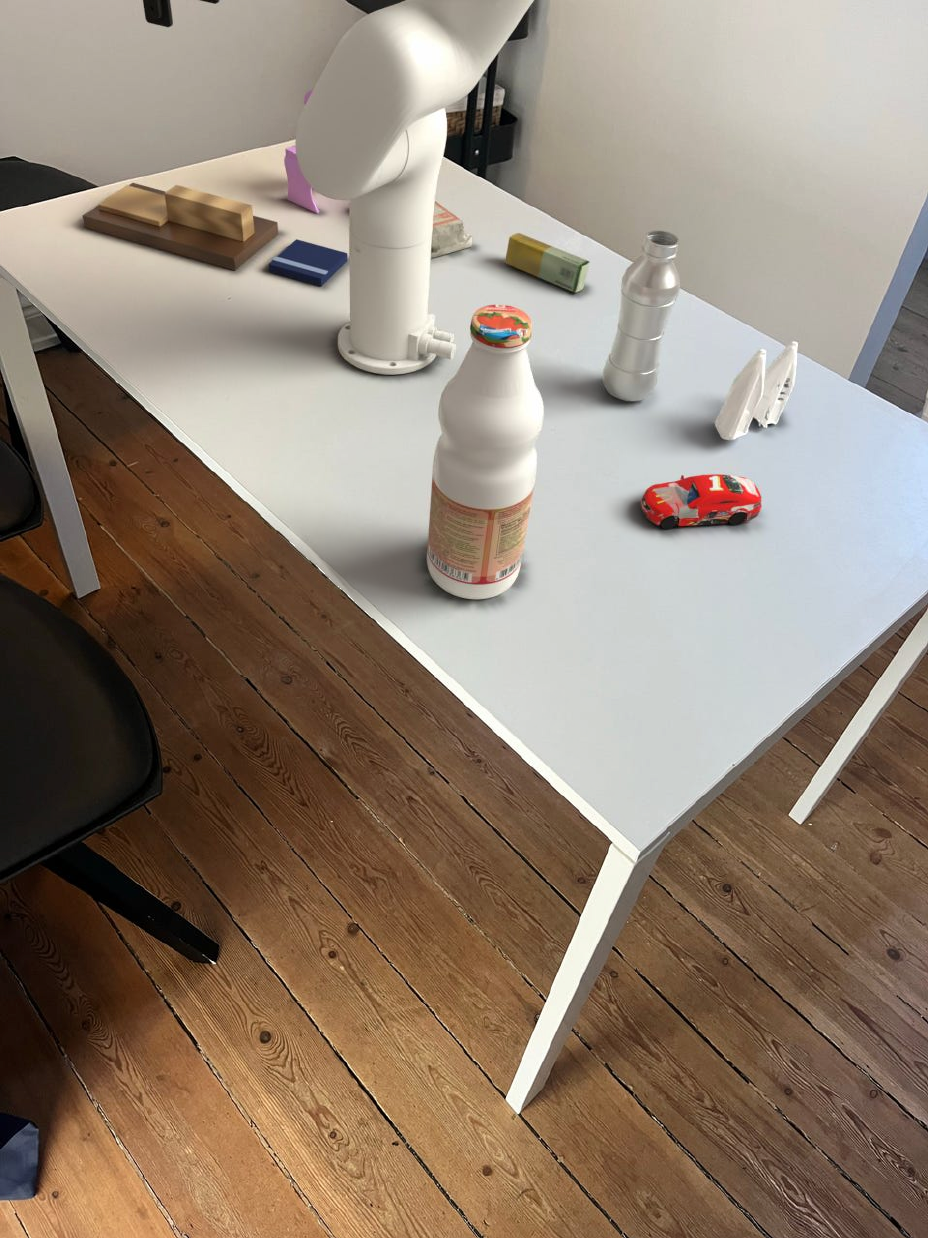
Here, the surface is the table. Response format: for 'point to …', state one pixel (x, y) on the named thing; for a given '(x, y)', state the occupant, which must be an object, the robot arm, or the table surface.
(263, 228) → the walnut board
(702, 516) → the race car
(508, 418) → the fruit juice
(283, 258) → the navy tea towel
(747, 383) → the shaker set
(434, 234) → the packaged product
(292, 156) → the toy chair
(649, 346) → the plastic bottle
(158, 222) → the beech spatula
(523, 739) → the table surface
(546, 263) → the medication box
